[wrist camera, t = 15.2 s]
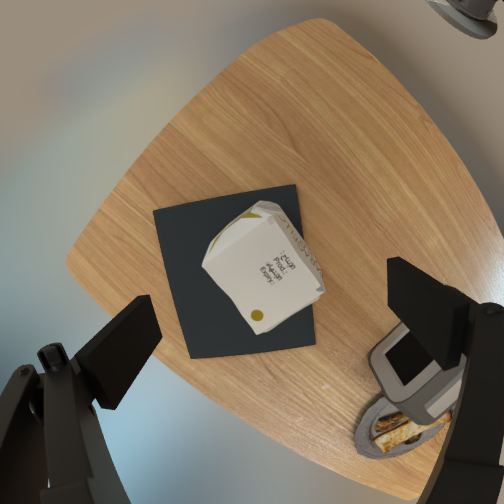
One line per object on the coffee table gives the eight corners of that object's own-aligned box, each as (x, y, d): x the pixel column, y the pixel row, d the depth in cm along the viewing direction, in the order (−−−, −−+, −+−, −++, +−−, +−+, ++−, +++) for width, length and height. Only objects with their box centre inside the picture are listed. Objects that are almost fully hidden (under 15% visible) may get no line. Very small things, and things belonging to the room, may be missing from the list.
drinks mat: (154, 210, 39) (152, 210, 39) (295, 184, 38) (295, 184, 37) (191, 357, 44) (190, 359, 44) (315, 342, 43) (315, 344, 42)
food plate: (457, 351, 42) (466, 360, 39) (453, 419, 47) (459, 428, 43) (342, 405, 45) (346, 418, 42) (360, 462, 50) (363, 473, 46)
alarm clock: (434, 286, 40) (490, 326, 24) (459, 324, 41) (507, 366, 26) (364, 355, 43) (395, 418, 28) (396, 385, 44) (427, 442, 29)
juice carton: (269, 192, 37) (272, 197, 19) (306, 244, 39) (340, 296, 20) (223, 225, 39) (185, 261, 20) (261, 275, 40) (256, 349, 21)
